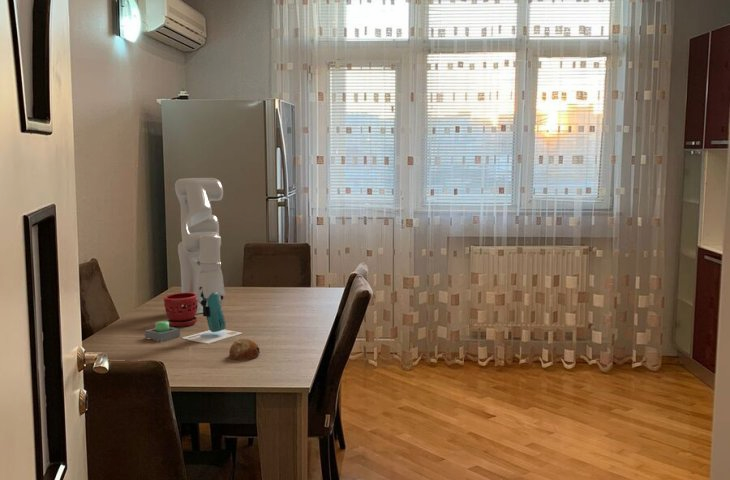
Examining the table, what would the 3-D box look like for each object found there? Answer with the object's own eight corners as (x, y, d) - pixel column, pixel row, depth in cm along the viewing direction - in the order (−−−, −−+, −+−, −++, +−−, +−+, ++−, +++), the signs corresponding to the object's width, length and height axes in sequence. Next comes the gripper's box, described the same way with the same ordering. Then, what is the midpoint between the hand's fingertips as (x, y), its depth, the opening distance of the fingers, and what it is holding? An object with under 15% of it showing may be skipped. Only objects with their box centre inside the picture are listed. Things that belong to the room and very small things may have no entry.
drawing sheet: (181, 338, 280) (181, 337, 279) (216, 328, 294) (216, 327, 294) (207, 343, 272) (207, 342, 272) (242, 333, 286) (242, 332, 286)
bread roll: (236, 362, 260) (226, 343, 259) (263, 349, 261) (252, 329, 259) (234, 371, 250) (223, 350, 249) (261, 357, 251) (250, 336, 250)
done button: (152, 333, 280) (152, 323, 280) (163, 330, 284) (163, 320, 284) (161, 335, 277) (161, 324, 277) (172, 332, 281) (171, 322, 281)
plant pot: (187, 319, 312) (186, 290, 310) (204, 324, 303) (203, 295, 301) (159, 324, 303) (157, 295, 301) (175, 329, 294) (174, 299, 292)
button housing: (145, 338, 280) (144, 330, 280) (164, 333, 287) (163, 325, 287) (161, 341, 275) (160, 333, 274) (180, 336, 282) (179, 329, 282)
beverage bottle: (222, 335, 280) (211, 285, 275) (207, 336, 282) (195, 286, 277) (230, 328, 286) (218, 279, 281) (214, 329, 288) (203, 280, 283)
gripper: (219, 263, 289) (221, 310, 291) (186, 269, 275) (187, 318, 277) (233, 265, 284) (235, 312, 287) (200, 271, 271) (202, 320, 273)
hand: (211, 314), depth 282 cm, fingers closed on beverage bottle, 4 cm apart
